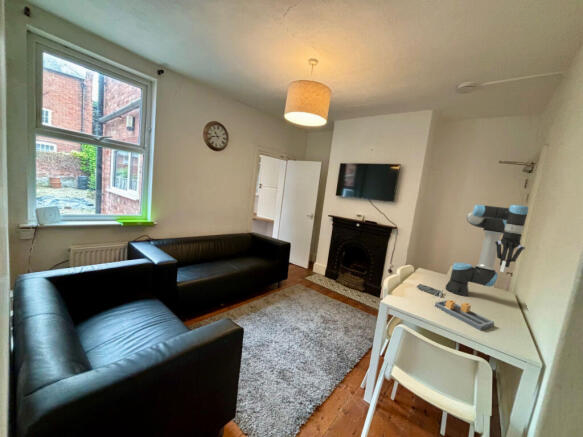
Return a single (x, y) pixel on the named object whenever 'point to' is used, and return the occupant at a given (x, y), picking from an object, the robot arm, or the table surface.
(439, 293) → the graphics card
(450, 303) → the tab
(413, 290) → the table surface
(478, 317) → the switch bank
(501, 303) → the table surface
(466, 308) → the tab
